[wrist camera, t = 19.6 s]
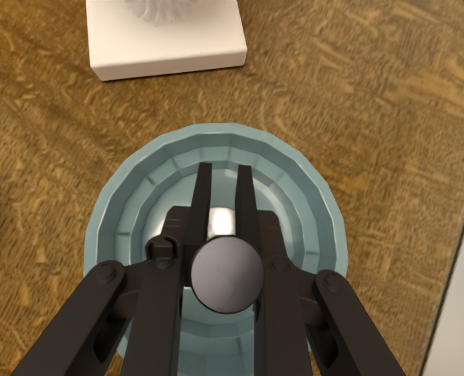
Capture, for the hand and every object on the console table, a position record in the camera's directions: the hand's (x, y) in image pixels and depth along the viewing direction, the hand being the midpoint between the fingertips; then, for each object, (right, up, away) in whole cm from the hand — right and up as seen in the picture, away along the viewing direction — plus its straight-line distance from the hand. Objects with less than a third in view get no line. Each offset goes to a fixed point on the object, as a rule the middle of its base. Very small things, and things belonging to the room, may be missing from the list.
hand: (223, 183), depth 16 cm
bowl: (-1, -5, +6) cm, 8 cm away
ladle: (-1, -5, +5) cm, 7 cm away
